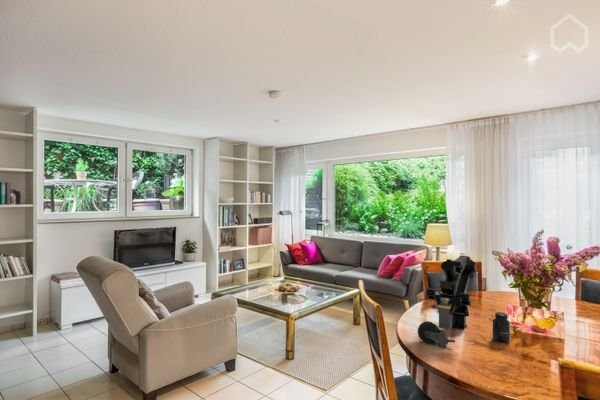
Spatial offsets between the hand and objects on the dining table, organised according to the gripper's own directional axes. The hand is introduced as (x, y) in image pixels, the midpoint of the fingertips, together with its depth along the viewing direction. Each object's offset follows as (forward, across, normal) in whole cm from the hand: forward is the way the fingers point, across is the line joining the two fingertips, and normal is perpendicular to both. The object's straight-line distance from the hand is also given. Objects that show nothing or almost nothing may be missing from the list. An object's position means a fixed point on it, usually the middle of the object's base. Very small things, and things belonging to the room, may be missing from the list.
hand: (444, 313), depth 157 cm
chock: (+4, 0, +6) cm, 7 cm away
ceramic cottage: (-27, -14, +46) cm, 55 cm away
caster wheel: (+13, -2, +5) cm, 14 cm away
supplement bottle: (-2, +20, +20) cm, 28 cm away
